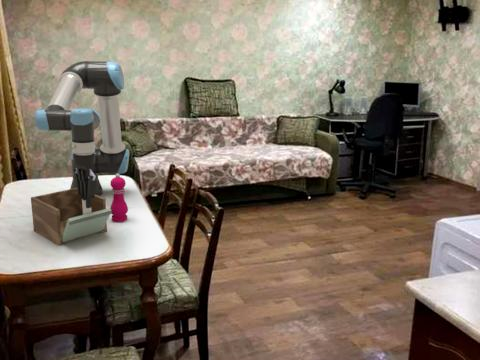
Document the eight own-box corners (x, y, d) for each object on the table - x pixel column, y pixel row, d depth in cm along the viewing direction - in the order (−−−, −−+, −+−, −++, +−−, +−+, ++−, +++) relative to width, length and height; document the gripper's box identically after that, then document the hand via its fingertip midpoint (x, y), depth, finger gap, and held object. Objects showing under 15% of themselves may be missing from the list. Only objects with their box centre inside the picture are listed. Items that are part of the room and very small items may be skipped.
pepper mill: (107, 219, 204) (104, 173, 199) (121, 215, 209) (120, 170, 204) (116, 224, 200) (115, 177, 194) (131, 219, 205) (130, 173, 199)
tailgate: (101, 228, 191) (109, 208, 184) (103, 231, 190) (112, 211, 183) (61, 239, 179) (68, 218, 172) (63, 243, 178) (70, 222, 171)
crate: (80, 218, 204) (78, 187, 201) (107, 231, 191) (105, 198, 188) (33, 230, 190) (30, 197, 187) (58, 245, 177) (56, 210, 174)
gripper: (64, 151, 174) (68, 213, 181) (83, 158, 166) (87, 222, 172) (83, 148, 179) (87, 208, 186) (103, 154, 171) (106, 217, 178)
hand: (87, 215), depth 179 cm, fingers closed
